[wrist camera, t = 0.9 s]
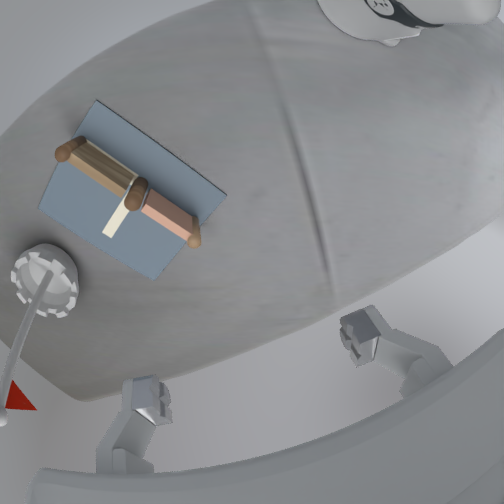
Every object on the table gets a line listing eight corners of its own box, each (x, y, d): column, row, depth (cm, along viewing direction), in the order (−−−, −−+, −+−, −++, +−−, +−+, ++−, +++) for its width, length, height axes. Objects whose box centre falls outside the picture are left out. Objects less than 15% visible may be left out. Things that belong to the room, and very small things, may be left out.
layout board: (96, 100, 29) (95, 100, 28) (226, 195, 40) (226, 196, 40) (38, 207, 34) (37, 208, 34) (154, 279, 46) (154, 281, 45)
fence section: (152, 186, 36) (146, 203, 32) (201, 220, 41) (204, 241, 36) (145, 196, 37) (138, 214, 32) (193, 229, 41) (195, 250, 37)
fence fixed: (79, 132, 30) (59, 142, 24) (151, 182, 36) (144, 200, 31) (71, 145, 30) (51, 157, 25) (142, 194, 37) (135, 214, 32)
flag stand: (14, 268, 38) (-49, 405, 13) (40, 223, 35) (-49, 379, 11) (63, 308, 45) (29, 451, 20) (96, 271, 42) (57, 442, 18)
